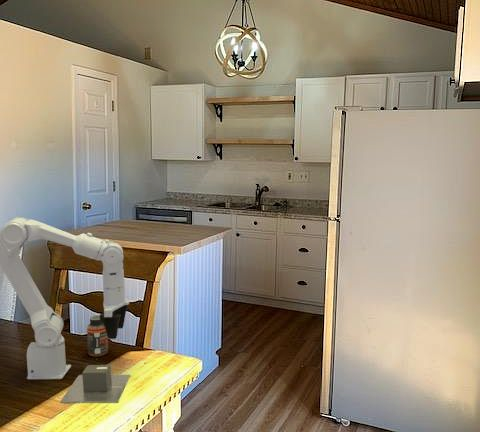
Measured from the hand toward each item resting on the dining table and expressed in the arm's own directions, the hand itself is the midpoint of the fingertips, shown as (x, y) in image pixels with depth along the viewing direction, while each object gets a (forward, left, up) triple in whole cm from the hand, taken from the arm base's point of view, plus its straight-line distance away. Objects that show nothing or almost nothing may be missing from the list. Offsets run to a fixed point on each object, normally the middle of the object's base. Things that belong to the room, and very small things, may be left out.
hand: (115, 333), depth 139 cm
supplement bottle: (-8, +9, -10) cm, 16 cm away
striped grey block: (-2, -13, -9) cm, 16 cm away
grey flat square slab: (-2, -13, -10) cm, 16 cm away
